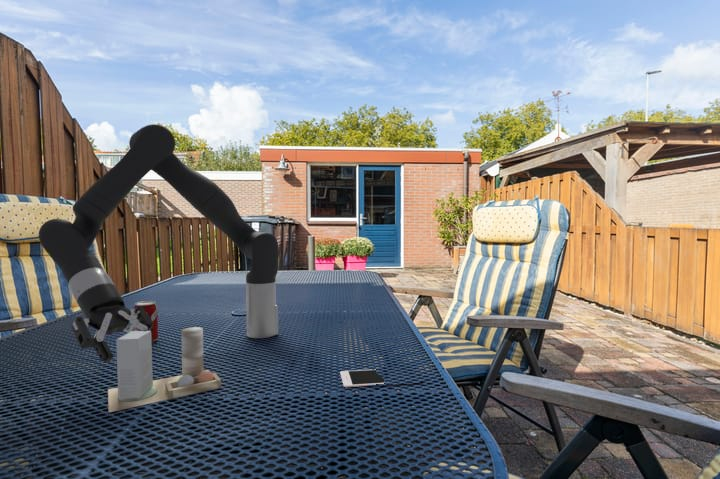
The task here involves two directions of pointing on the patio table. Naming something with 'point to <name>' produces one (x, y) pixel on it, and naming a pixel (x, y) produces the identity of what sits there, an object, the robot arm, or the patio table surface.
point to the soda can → (151, 316)
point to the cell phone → (360, 378)
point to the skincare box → (134, 364)
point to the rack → (168, 386)
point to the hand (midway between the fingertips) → (130, 353)
